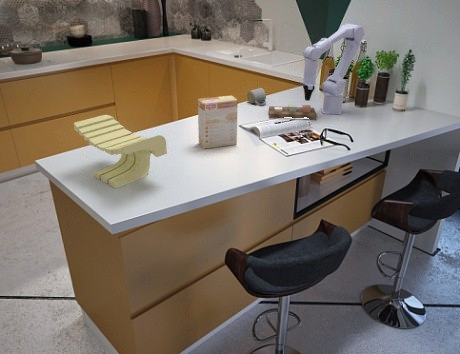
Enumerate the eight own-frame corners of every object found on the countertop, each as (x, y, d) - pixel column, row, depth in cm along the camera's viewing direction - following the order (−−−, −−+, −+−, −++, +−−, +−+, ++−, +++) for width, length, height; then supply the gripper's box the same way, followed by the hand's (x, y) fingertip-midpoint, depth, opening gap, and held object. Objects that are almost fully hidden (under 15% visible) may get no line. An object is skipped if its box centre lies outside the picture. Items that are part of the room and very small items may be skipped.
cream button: (281, 112, 220) (282, 107, 218) (281, 115, 216) (282, 109, 215) (274, 112, 220) (274, 106, 219) (274, 114, 217) (274, 109, 215)
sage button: (295, 110, 219) (296, 104, 217) (296, 112, 215) (296, 107, 214) (288, 110, 219) (288, 104, 218) (288, 112, 216) (289, 106, 214)
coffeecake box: (231, 139, 188) (232, 95, 179) (237, 144, 182) (238, 99, 173) (198, 143, 183) (197, 98, 174) (203, 149, 177) (202, 103, 168)
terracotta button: (309, 111, 218) (310, 105, 217) (310, 113, 215) (310, 107, 214) (302, 110, 219) (302, 105, 217) (302, 113, 215) (303, 107, 214)
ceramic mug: (245, 102, 237) (246, 88, 234) (258, 99, 241) (258, 86, 238) (257, 107, 230) (257, 93, 226) (269, 105, 234) (270, 91, 230)
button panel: (313, 112, 223) (313, 107, 222) (316, 120, 212) (316, 115, 211) (268, 110, 224) (269, 106, 223) (269, 118, 213) (269, 113, 212)
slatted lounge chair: (168, 180, 151) (165, 132, 143) (130, 196, 140) (125, 145, 132) (117, 156, 169) (112, 112, 161) (80, 169, 158) (73, 122, 150)
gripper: (300, 69, 215) (298, 95, 221) (303, 75, 202) (300, 104, 208) (314, 69, 214) (311, 96, 220) (318, 76, 201) (315, 104, 208)
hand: (307, 100), depth 214 cm, fingers closed
